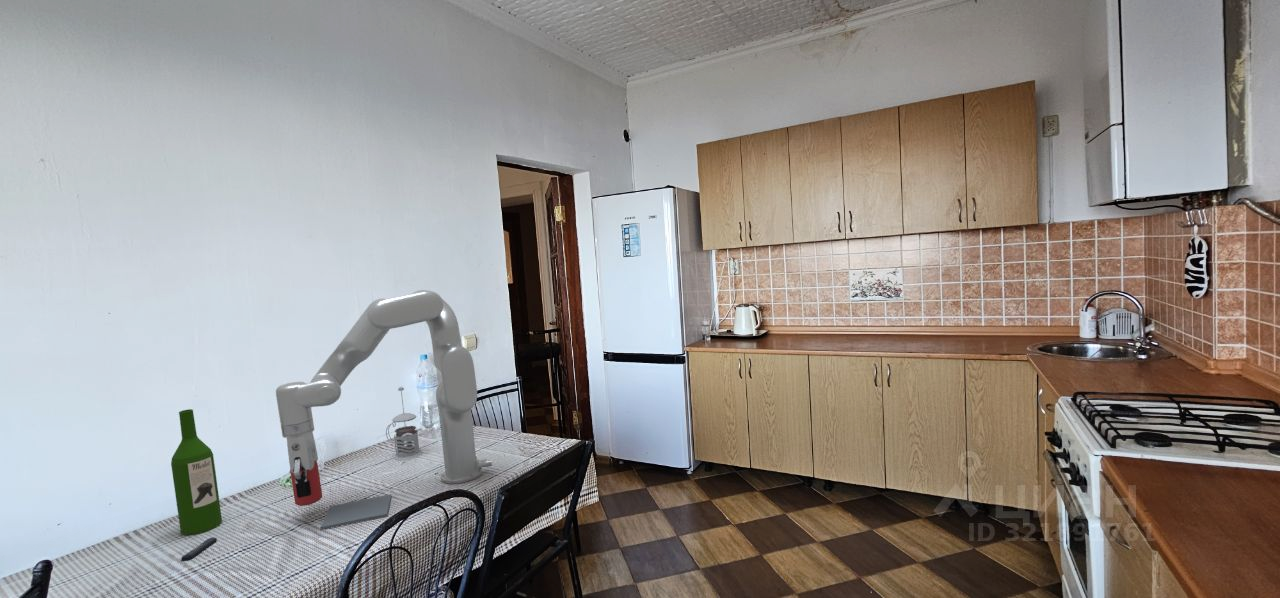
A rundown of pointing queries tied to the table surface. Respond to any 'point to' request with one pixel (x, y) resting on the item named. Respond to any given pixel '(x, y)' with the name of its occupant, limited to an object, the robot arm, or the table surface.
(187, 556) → the usb stick
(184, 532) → the wine bottle
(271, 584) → the table surface
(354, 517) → the mat
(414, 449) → the french press
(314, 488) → the beer can
